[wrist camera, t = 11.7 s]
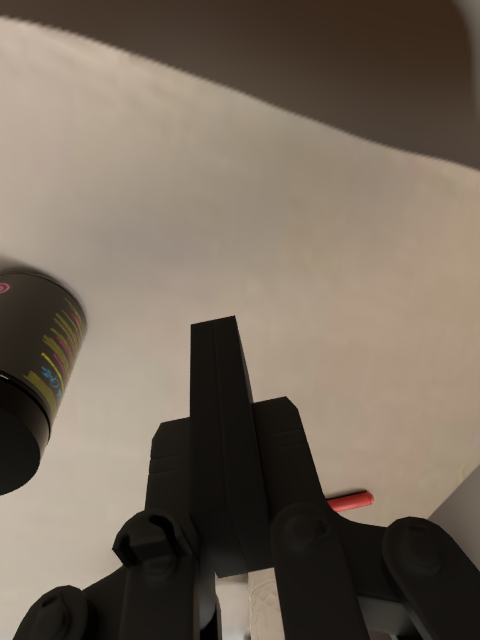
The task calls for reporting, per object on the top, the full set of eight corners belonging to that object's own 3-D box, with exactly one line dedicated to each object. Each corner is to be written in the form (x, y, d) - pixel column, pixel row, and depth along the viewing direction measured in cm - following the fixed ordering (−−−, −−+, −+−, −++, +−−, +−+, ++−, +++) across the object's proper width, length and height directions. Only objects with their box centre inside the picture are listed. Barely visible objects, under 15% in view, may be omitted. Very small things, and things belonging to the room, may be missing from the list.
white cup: (303, 581, 49) (327, 686, 41) (241, 589, 48) (253, 697, 40) (311, 548, 45) (340, 658, 37) (243, 556, 44) (257, 670, 36)
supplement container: (41, 246, 22) (-50, 361, 14) (111, 331, 26) (75, 465, 17) (-54, 295, 23) (-196, 433, 14) (27, 371, 27) (-48, 517, 18)
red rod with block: (371, 482, 39) (376, 493, 38) (370, 500, 41) (375, 511, 40) (222, 515, 39) (223, 527, 38) (228, 531, 41) (229, 543, 40)
